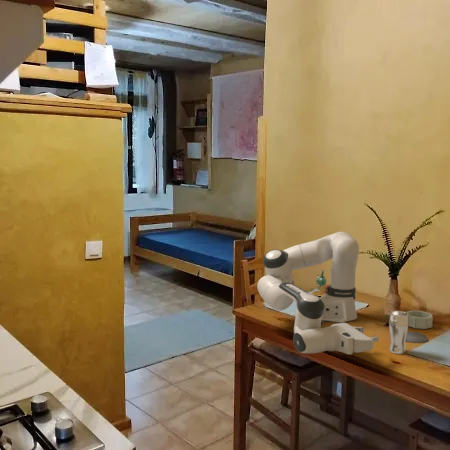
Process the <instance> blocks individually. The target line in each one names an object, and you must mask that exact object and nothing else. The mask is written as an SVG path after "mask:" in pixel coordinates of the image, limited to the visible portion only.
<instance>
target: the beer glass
mask: <svg viewBox="0 0 450 450" xmlns="http://www.w3.org/2000/svg"><path fill="white" fill-rule="evenodd" d="M406 312H407V311H403V310H392V311H390V313H389V319H388V320H389V321H388V328H389V329H388V330H389V337H390V339H389V340H390V343H389V348H388V350H389V352H390V353H393V354H395V355H396V354H397V355H403V354H405V353H406V351H407V350H406V341H405V340H406V336H407V332H408V330H409V326H408V313H406Z"/></svg>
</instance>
